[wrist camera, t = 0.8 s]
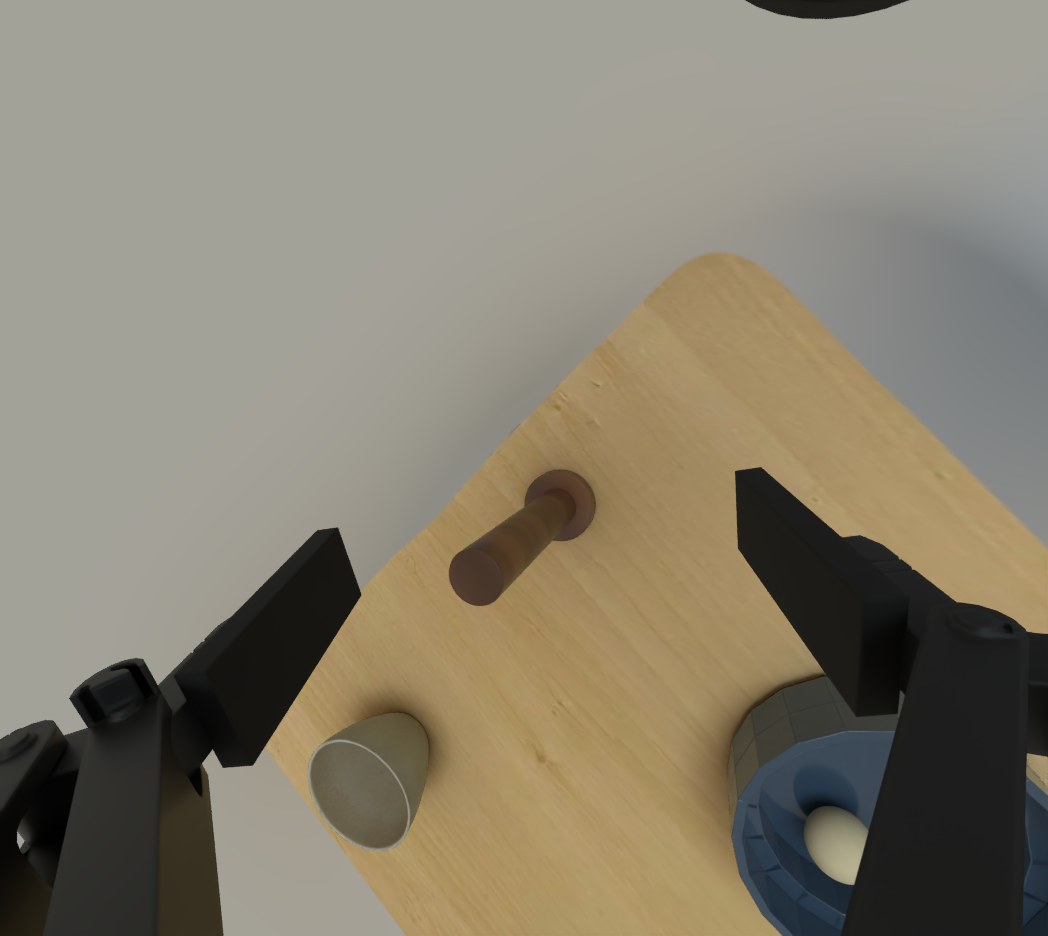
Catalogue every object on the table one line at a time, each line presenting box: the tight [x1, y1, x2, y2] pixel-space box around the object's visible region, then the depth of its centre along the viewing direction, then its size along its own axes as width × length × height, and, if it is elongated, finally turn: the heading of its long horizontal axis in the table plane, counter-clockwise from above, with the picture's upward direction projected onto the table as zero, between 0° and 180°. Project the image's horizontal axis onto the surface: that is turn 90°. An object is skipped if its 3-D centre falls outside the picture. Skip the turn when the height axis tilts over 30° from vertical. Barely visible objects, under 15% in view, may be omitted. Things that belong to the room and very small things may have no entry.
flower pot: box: [308, 712, 429, 851], centre depth 42 cm, size 10×10×7 cm
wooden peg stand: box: [449, 470, 596, 606], centre depth 29 cm, size 5×5×15 cm
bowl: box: [727, 676, 1048, 936], centre depth 30 cm, size 17×17×6 cm
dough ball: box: [804, 806, 869, 885], centre depth 31 cm, size 4×4×4 cm
